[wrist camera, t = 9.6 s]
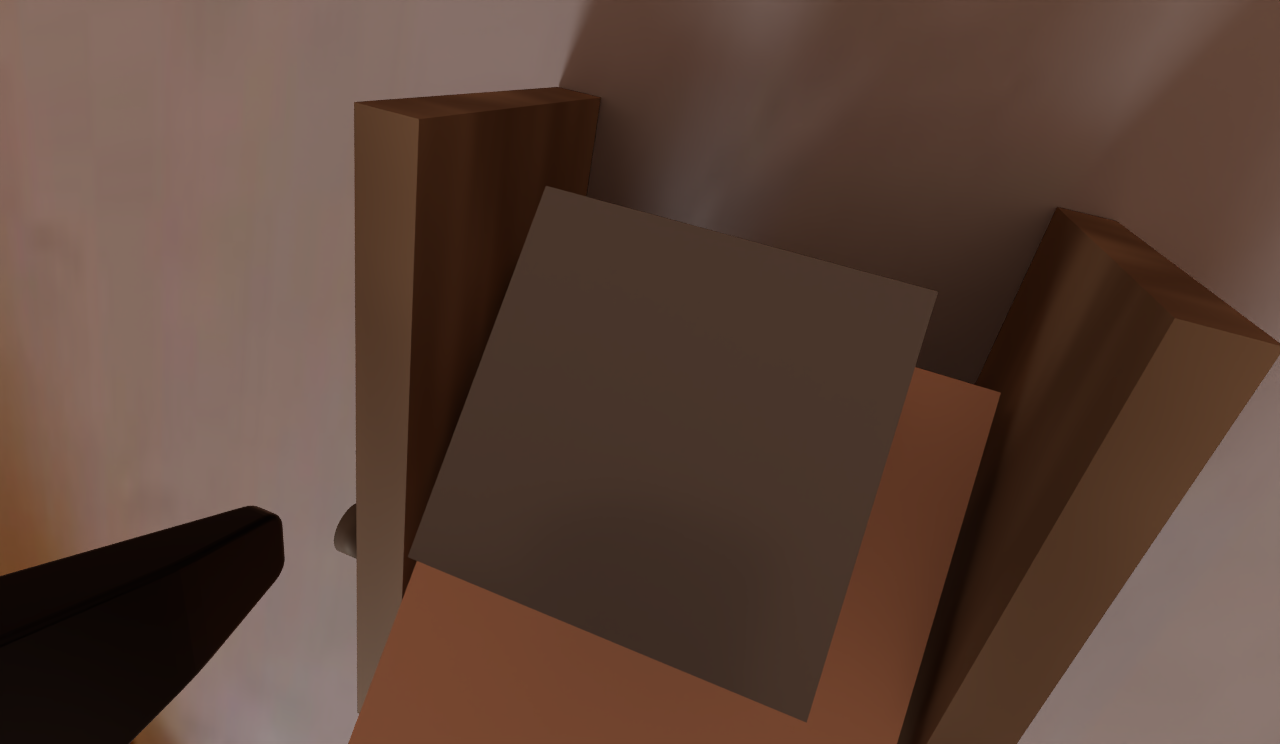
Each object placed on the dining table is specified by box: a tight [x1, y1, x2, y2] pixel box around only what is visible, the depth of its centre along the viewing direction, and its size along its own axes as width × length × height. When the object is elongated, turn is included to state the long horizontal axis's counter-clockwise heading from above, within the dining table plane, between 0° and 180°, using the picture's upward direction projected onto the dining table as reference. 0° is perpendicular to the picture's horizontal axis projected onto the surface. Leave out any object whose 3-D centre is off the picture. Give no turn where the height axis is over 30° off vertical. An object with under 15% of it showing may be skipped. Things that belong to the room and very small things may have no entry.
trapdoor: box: [348, 367, 1001, 744], centre depth 16 cm, size 10×11×5 cm
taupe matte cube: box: [408, 186, 938, 723], centre depth 11 cm, size 5×5×6 cm
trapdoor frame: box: [334, 87, 1280, 744], centre depth 16 cm, size 14×15×8 cm
